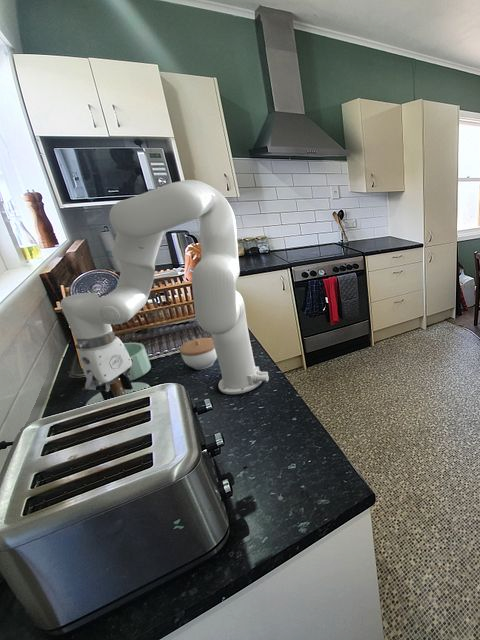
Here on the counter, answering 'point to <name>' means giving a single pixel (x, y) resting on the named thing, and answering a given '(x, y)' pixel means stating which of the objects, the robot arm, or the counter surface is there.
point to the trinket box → (198, 353)
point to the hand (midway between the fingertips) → (119, 394)
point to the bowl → (137, 360)
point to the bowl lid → (118, 389)
